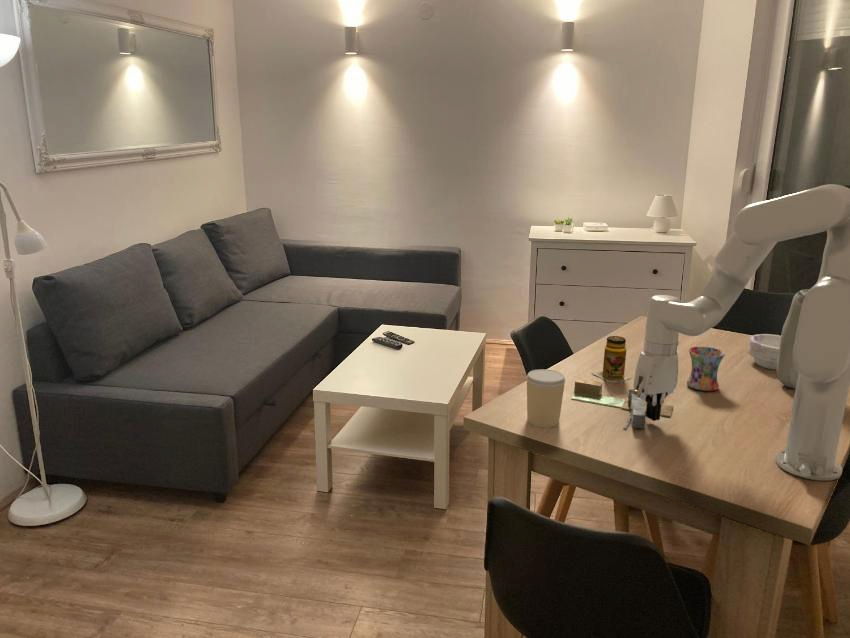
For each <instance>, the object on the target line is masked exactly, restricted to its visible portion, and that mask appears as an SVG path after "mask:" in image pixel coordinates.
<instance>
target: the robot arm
mask: <svg viewBox="0 0 850 638" xmlns="http://www.w3.org/2000/svg"><path fill="white" fill-rule="evenodd" d="M822 232H823V233H824V232H826V234H827V235H826V236H827V237H826V242H825V245H824V249H823V255H822V260H821V261H822V262H821V266H820V271H819V274H818V279H817V281H816V283H815V284H814V285H813V286H812V287H811V288H809V289H810V290H809V291H808V292H807V294H806V296H805V298H804V300H803V303H802V307H801V311H800V317H799V322H798V327H797V332H796V338H795V343H794V348H793V363H794V366H795V368H796V370H797V372H798V373H799V375H798V379H797V384H796V389H795V391H794V392H795V393H794V396H793V397H794V398H793V401H792V408H791V415H790V419H789V420H790V421H789V427H788V432H787V439H786V444H785V449H783V450H781V451H779V452H777V453H776V455H775V462H776V464H777V465H778V467H779V468H781V469H782V470H784V471H786V472H787V473H789V474H791V475H794V476H797V477H799V478H803V479H807V480H812V481H822V482H823V481H824V482H825V481H827V482H828V481H833V480H837V479H839V478H840V477H841V476H842V473H843V468H842V466H841V465H840V463H839V462H837V461H836V460H837V459H836V458H837V452H838V447H839V443H840V438H841V432H842V427H843V420H844V416H845V413H846V406H847V403H848V397H849V391H850V188H849V187H846V186H844V185H841V184H834V183H832V184H831V183H829V184H823V185H819V186H816V187H813V188H809V189H806V190H802V191H798V192H796V193H792V194H788V195H783V196H781V197H780V196H779V197H777V198H772V199H770V200H763V201H757V202H754V203H750V204H747V205H746V206H744V207H743V208H741V210H739V212H738V213H737V214H736V216H735V218H734V221H733V231H732V233H730V235H729V237H728V238H727V240H726V241H725V243H724V244H723V245H722V247H721V249H720V250H719V251H718V253H717V254H716V255H715V257H714V271H713V274H712V276H711V277H710V279H709V281H708V282H707V284H706V285H705V286H704V288H703V289H702V290H701V292H700V293H699V295H698V296H697V297H695V299H693V300H691V301H688V302H684V303H683V302H682V300H681V298H679V297H676V296H674V295H669V294H655V295H652V296H651V297H650V298H649V300H648V302H647V312H646V320H645V321H646V323H645V332H644V341H643V342H644V343H643V350H642V351H641V352H640V353H639V356H638V359H637V363H636V368H635V372H634V379H633V389H635V390H638V392H637V398H639V399H642V400H644V401H645V402H647V407H646V413H645V415H646V417H645V418H647V419H649V420H651V421H654V422H655V421H660V420H661V419H660V418H661V416H660V413H661V404H663V405H664V403H665V400H666V398H667V397H668V396H670V395H672V394H673V393H674V390H675V389H677V385H678V378H679V356H678V355H679V354H678V352H677V351H678V345H679V344H680V342H679V335H680V334H682V335H685V336H689V337H698V336H701V335H702V334H703V335H704V333H706V332H707V331H710V330H711V329H712V328H713V327H715V326H717V325H718V324H719V323H720V322H721V321H722V320H723V319H724V317H725V316H726V315H727V313H728V312H729V311H730V309H731V308H732V307H733V305H734V304H735V303H736V301H737V300H738V298H739V297H740V295H741V294H742V292H743V291H744V289H745V287H746V286H747V285H748V283H749V282H750V280H751V278H752V277H753V276H754V275H755V272H757V270H758V269H759V268H760V266H761V264H762V263H763V262H764V260H765V259H766V257H768V255H769V254H770V252H771V251H772V250H773V248H774V247H775V246H776V245H777V243H778V242H779V243H780V242H783V241H788V240H791V239H796V238H800V237H805V236H811V235H815V234H819V233H822Z"/></svg>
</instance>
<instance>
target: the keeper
mask: <svg viewBox="0 0 850 638" xmlns="http://www.w3.org/2000/svg"><path fill="white" fill-rule="evenodd" d="M602 388H603V382H601V381H595V380H589V379H583V378H576V379H575V381H574V388H573V389H574V391H573V393H574V394H573V395H572V396H571V397H570V399H571V400H573V401H580V402H585V403H591V404H596V405H603V406H607V407H608V406H609V407H613V408H619V409H621V407H622V405H623V403H624V401H625V399H626V398H625V399H624V398H618V397H614V396H613V397H612V396H606V395H602V392H603V391H602Z"/></svg>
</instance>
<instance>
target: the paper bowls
mask: <svg viewBox="0 0 850 638" xmlns="http://www.w3.org/2000/svg"><path fill="white" fill-rule="evenodd" d="M780 340H781V335H779V334H771V333H770V334H769V333H761V334H759V333H758V334H754V335H751V336H750V337H749V340H748V341H749V342H748V348H747V353H748V354H749V355H750V357H752V358H753V361H754V363H755V364H756V365H758V366H759V367H762V368H765V369H768V370H776V371H777V362H778V355H779V348H780Z"/></svg>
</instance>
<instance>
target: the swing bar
mask: <svg viewBox="0 0 850 638" xmlns="http://www.w3.org/2000/svg"><path fill="white" fill-rule="evenodd" d="M637 392H638V390H635V389H634V388H632V389H629V390H628V393H627V399H628V404H629V405H630V408H631V411H630V413H631V420H630V421H631V427H632V428H640V429H645V427H646V425H645V424H646V418H647V417H646V413H645V408H644V401H645V400H642V399H639V398H637Z"/></svg>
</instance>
